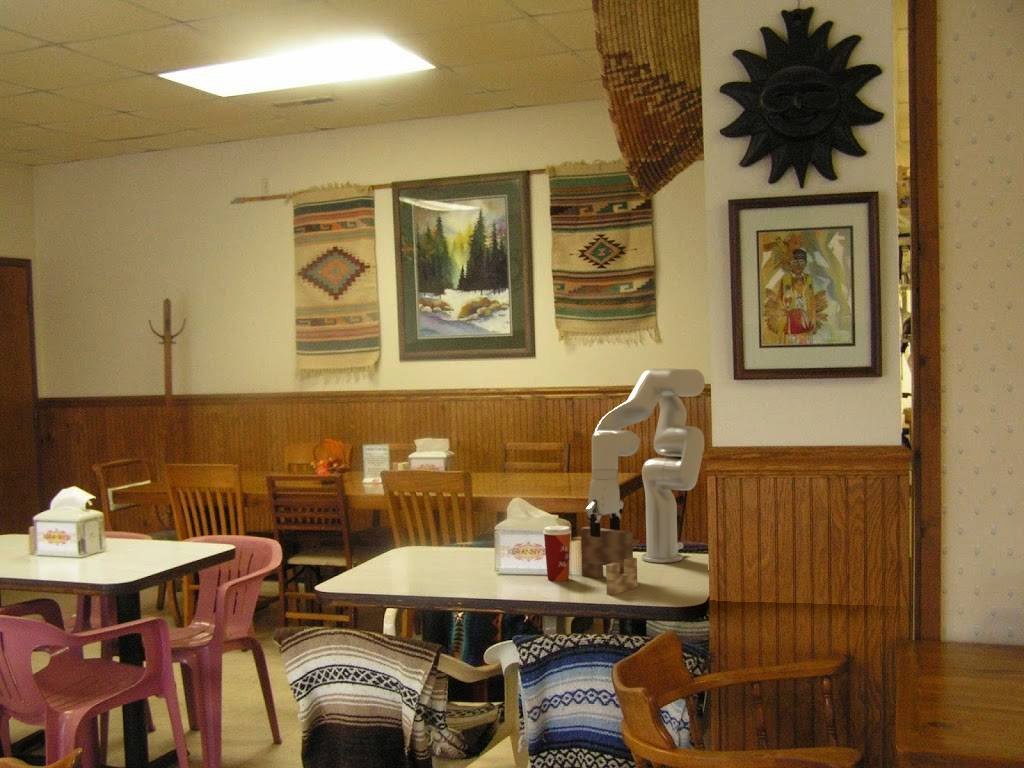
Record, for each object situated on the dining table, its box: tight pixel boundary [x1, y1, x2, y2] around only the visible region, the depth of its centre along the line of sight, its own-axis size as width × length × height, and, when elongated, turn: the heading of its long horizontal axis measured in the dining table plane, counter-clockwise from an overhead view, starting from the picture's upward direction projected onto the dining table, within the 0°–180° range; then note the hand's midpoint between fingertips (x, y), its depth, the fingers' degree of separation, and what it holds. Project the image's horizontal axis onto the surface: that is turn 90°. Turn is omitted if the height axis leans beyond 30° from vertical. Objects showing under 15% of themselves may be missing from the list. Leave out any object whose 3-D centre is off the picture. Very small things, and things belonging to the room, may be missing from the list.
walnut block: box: [580, 526, 634, 579], centre depth 305 cm, size 16×3×14 cm, turn 50°
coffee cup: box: [542, 525, 572, 582], centre depth 305 cm, size 8×8×15 cm
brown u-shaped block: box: [605, 556, 638, 596], centre depth 289 cm, size 12×2×8 cm, turn 140°
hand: (605, 534), depth 304 cm, fingers open, 9 cm apart
